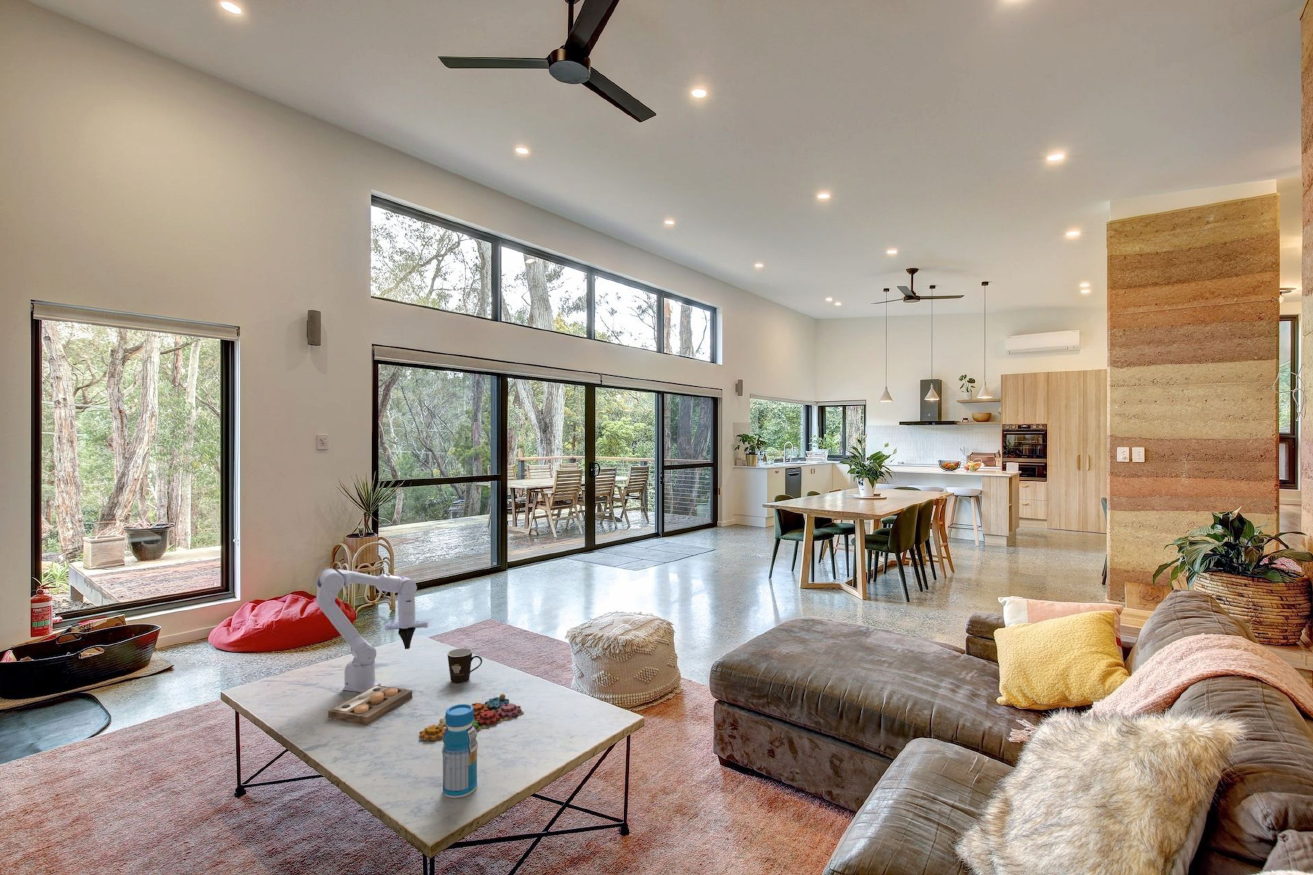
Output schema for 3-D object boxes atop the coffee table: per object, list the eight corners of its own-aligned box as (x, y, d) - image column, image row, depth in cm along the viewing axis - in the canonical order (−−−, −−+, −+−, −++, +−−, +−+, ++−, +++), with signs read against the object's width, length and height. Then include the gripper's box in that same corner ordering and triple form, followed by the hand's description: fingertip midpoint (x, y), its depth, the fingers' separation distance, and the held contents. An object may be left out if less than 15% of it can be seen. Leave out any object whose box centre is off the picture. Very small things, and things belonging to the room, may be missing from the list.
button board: (328, 718, 186) (328, 709, 186) (375, 692, 205) (375, 683, 205) (367, 725, 182) (367, 716, 182) (412, 697, 201) (412, 689, 201)
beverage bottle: (448, 803, 143) (447, 720, 143) (437, 786, 150) (437, 707, 150) (482, 791, 148) (482, 710, 148) (471, 775, 155) (470, 698, 155)
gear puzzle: (430, 751, 168) (430, 737, 168) (407, 731, 179) (407, 717, 179) (526, 715, 189) (526, 702, 189) (500, 699, 201) (500, 687, 201)
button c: (381, 698, 198) (381, 692, 198) (390, 693, 202) (390, 687, 202) (391, 700, 197) (391, 693, 197) (400, 695, 201) (400, 688, 201)
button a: (351, 716, 185) (351, 709, 185) (361, 710, 189) (361, 703, 189) (361, 718, 184) (361, 710, 184) (371, 712, 188) (371, 705, 188)
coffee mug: (442, 681, 214) (442, 654, 214) (460, 673, 221) (460, 646, 221) (466, 688, 208) (466, 659, 208) (483, 679, 216) (483, 651, 216)
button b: (367, 703, 192) (367, 696, 192) (376, 698, 196) (376, 691, 196) (377, 704, 191) (377, 698, 191) (386, 699, 194) (386, 692, 194)
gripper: (382, 615, 213) (383, 653, 214) (425, 613, 216) (425, 650, 216) (388, 609, 220) (388, 646, 221) (429, 607, 223) (430, 643, 223)
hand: (407, 648), depth 219 cm, fingers closed
